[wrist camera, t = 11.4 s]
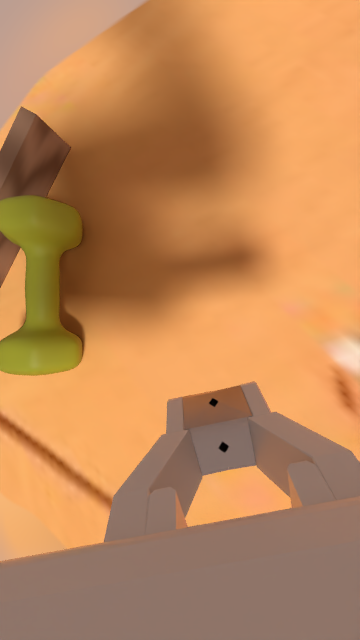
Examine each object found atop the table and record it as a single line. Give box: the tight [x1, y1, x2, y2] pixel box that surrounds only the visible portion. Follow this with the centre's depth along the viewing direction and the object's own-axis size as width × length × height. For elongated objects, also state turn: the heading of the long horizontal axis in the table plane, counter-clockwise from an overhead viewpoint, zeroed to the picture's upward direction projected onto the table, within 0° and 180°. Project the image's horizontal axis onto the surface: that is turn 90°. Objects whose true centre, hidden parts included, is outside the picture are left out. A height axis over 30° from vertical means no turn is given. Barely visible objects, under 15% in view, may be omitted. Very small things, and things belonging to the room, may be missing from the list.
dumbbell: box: [0, 195, 82, 376], centre depth 27 cm, size 16×8×7 cm, turn 179°
